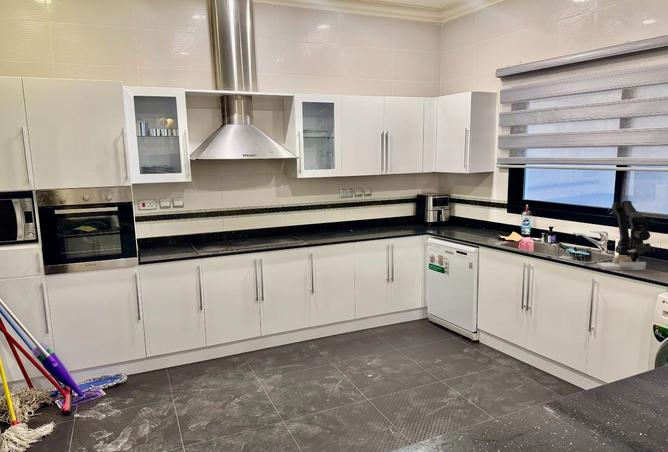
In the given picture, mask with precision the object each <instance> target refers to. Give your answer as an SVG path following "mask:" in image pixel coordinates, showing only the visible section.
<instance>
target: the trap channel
mask: <svg viewBox="0 0 668 452" xmlns="http://www.w3.org/2000/svg"><path fill="white" fill-rule="evenodd" d="M646 264H647V262H646V261H639V258H638V259H637V261H636V262H632V259H631V261H630V262H620V263H619V264H617V258H612V262H596V267H598V268H600V269H602V270H603V271H607V270H608V271H615V270H616V271H620V270H621V271H628V270H629V271H631V270H632V271H633V270H634V271H639V270H640V271H646V268H647V267H646V266H647V265H646Z"/></svg>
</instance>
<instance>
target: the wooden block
mask: <svg viewBox="0 0 668 452" xmlns="http://www.w3.org/2000/svg"><path fill="white" fill-rule="evenodd" d="M616 259H617V264H619V263H620V262H630V261H631V257H630V255H629V256H626V255H619V254H618V255H617V258H616Z"/></svg>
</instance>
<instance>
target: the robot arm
mask: <svg viewBox="0 0 668 452" xmlns="http://www.w3.org/2000/svg"><path fill="white" fill-rule="evenodd" d="M632 203H633V202H632V200H621V201H618V202H614V203H612V205H611V209H612V211H613V214H614V215H615V216H616V218H617V223H618V231H619V239H618V242H617V245H616V246H615V248H614V249H615V250H614V251H615V253H617V254H618V255H626V256H629V257H631V259H632V262H636V261H637V259H638V260H639V257H640V255H642V254H644V253H646V252H647V251H648V253H654V252H655V247H654V246H651V244H652V243H649V242H648V243H647V242H646V243H644V241H648V240H649V239H650V238H651V232H649V231H648V229H649V227H648V226H649V224H648V222H647V219H646V217H645V216H644V215H643V214H642V213H640V212H638V210H637V209H636V208H635V207H634V205H633V204H632ZM627 216H628V217H629V219H628V220H627V218H628V217H627ZM628 223H629V225H630V226H629V225H628ZM628 226H629V227H628ZM629 228H630V232H629Z"/></svg>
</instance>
